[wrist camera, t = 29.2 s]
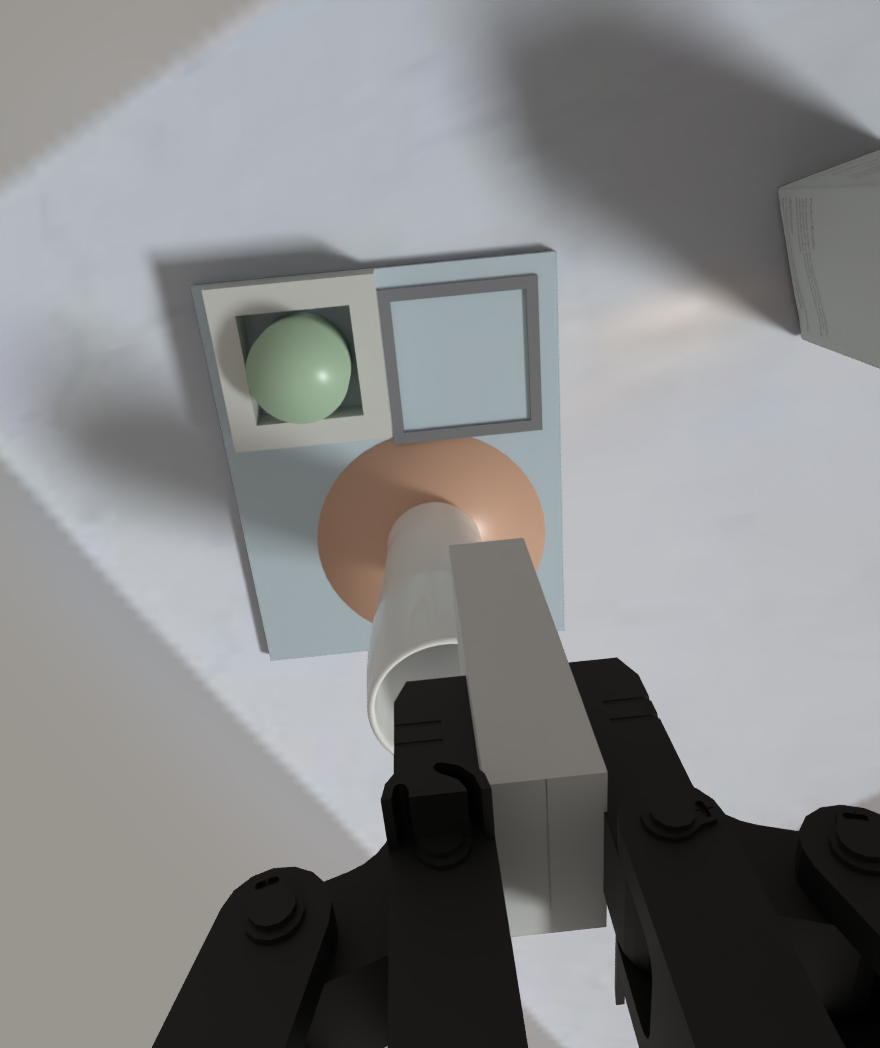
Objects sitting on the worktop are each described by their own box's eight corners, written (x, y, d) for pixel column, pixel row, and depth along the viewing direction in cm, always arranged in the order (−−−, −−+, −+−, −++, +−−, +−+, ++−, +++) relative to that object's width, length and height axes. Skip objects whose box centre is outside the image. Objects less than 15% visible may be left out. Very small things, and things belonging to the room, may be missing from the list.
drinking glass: (359, 575, 44) (344, 755, 31) (394, 471, 42) (394, 617, 28) (469, 604, 45) (501, 790, 32) (510, 505, 43) (563, 661, 29)
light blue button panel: (554, 250, 38) (557, 251, 37) (562, 625, 47) (565, 632, 46) (193, 285, 38) (189, 287, 37) (272, 655, 47) (270, 662, 46)
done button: (345, 307, 37) (341, 317, 35) (358, 402, 39) (355, 418, 37) (248, 316, 37) (236, 327, 35) (265, 411, 39) (256, 428, 37)
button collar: (374, 268, 37) (372, 273, 35) (392, 425, 41) (392, 437, 39) (211, 284, 37) (201, 290, 35) (242, 440, 40) (235, 452, 39)
